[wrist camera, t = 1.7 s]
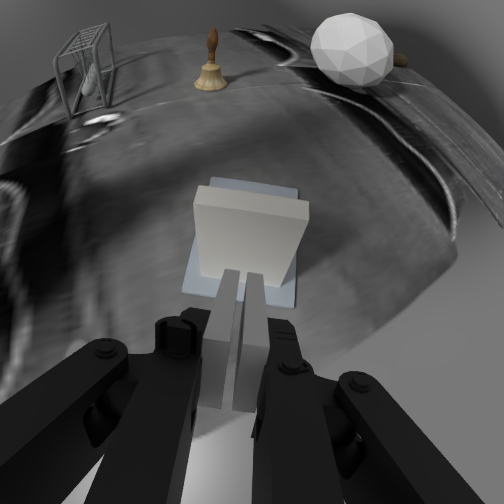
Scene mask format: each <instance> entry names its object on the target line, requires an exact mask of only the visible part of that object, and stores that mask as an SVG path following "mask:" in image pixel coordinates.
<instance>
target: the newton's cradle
mask: <svg viewBox="0 0 504 504" xmlns="http://www.w3.org/2000/svg"><path fill="white" fill-rule="evenodd" d="M103 25H104V27H103V28H102V30H101V32H100V34H99V35H98V37H97V39H95V42H93V45H91V46H90V44H92V40H93V41H94V37H95V38H96V34H98V31H99V29H100V28H101V26H103ZM99 26H100V27H99ZM99 26H95V27H99V28H98V30H97V32H96V33H95V35H94V36H93V38H92V39H91V41H90V42H89V45H88V46H86V47H85V48H83V46H82V45H83V44H82V40H81V37H82V32H83V31H85V30H89V29H92V28H95V27H92V28H89V29H85V30H82V31H76V32H75V33H74V34H73V36H72V37H71V38H70V39H69V40H68V41H67V42H66V44H65V45H64V46H63V47H62V48H61V50H60V51H59V52H58V54H57V55H56V56H55V58H54V60H53V67H54V71H55V75H56V79H57V83H58V86H59V90H60V93H61V97H62V100H63V103H64V107H65V110H66V113H67V116H68V118H70V119H71V118H73V117H74V115H77V114H80V113H83V112H87V111H90V110H93V109H97V108H100V107H104V108H108V106H109V101H110V95H111V89H112V83H113V78H114V72H115V61H114V54H113V46H112V38H111V29H110V23H109V22H106V24H102V25H99ZM106 29H107V35H108V43H109V51H110V58H111V64H112V69H111V70H107V71H103V72H101V69H102V66H101V64H100V63H99V57H98V51H97V47H98V44H99V42H100V40H101V38H102V36H103V34H104V32H105V30H106ZM80 32H81V33H80ZM76 36H77V38H76V39H75V40H74V42H75V41H76V40H77V39H78V44H79V46H78V47H79V50H75V51H73V52H70V53H67V52H68V50H69V49H70V48H71V46H72V45H74V42H73V43H72V44H71V46H70V47H69V48H68V50H67V51H66V52H65V53H64V55H62V53H63V52H64V51H65V49H66V48H67V47H68V46H69V44H70V43H71V42H72V40H73V39H74V38H75V37H76ZM82 39H83V38H82ZM83 40H84V39H83ZM76 42H77V41H76ZM84 42H85V41H84ZM76 44H77V43H76ZM78 44H77V45H78ZM90 47H93V49H92V51H93V54H92V58H91V55H90V53H88V54H89V55H90V62H89V55H88V58H87V59H88V67H86V66H87V65H86V62H85V57H84V51H83V50H84V49H87V48H90ZM74 49H75V47H74ZM70 51H71V49H70ZM77 51H80V54H81V60H82V63H81V65H82V67H83V70H84V78H83V81H82V83H81V86H80V88H79V91H78V94H77V96H76V99H75V102H74V105H73V107H72V110H71V111H70V107H69V104H68V101H67V97H66V94H65V90H64V86H63V82H62V79H61V75H60V71H59V67H58V59H59V58H60V57H63V56H66V55H68V54H71V53H74V52H76V53H77ZM88 52H89V51H88ZM66 53H67V54H66ZM85 54H86V53H85ZM72 55H73V54H72ZM77 56H78V54H77ZM86 57H87V56H86ZM73 58H74V56H73ZM91 59H92V65H91ZM93 59H94V64H93ZM74 60H75V59H74ZM79 60H80V59H79ZM75 62H76V61H75ZM80 62H81V61H80ZM76 64H77V63H76ZM89 64H90V70H89ZM77 67H78V65H77ZM87 68H88V73H87ZM78 69H79V67H78ZM79 71H80V69H79ZM108 71H111V75H110V79H109V84H108V89H107V94H105V90H104V85H103V80H102V74H101V73H104V72H108ZM80 73H81V72H80ZM81 75H82V74H81ZM82 77H83V76H82ZM97 81H98V85H99V89H100V94H101V98H102V103H103V105H102V106H98V107H95V108H92V109H88V110H85V111H82V112H78V113H75V111H76V108H77V105H78V102H79V99H80V96H81V93H82V94H83V95H84V96H91V95H92V94H93V93H94V92H95V87H96V85H97Z"/></svg>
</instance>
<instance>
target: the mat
mask: <svg viewBox="0 0 504 504" xmlns="http://www.w3.org/2000/svg"><path fill="white" fill-rule="evenodd" d="M209 186H210V187H218V188H226V189H233V190H241V191H248V192H254V193H261V194H268V195H274V196H280V197H286V198H292V199H298V189H294V188H288V187H282V186H276V185H269V184H263V183H256V182H249V181H242V180H235V179H228V178H220V177H212V176H211V180H210V183H209ZM296 252H297V250H296ZM296 252H295V255H294V257H293V259H292V261H291V264H290V266H289V268H288V270H287V273H286V275H285V277H284V279H283V281H282V284H281V286H280V287H273V286H266V285H264V289H265V299H266V305H267V306H275V307H283V308H291V309H294V300H295V278H296ZM220 282H221V279H217V278H211V277H204V276H201V271H200V262H199V254H198V245H197V236H196V234H195V238H194V242H193V246H192V250H191V254H190V258H189V262H188V266H187V270H186V274H185V279H184V283H183V287H182V293H186V294H192V295H198V296H204V297H211V298H216V295H217V291H218V288H219V285H220ZM245 287H246V283H244V282H239V284H238V291H237V298H236V301H238V302H243V300H244V293H245Z"/></svg>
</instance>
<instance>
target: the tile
mask: <svg viewBox="0 0 504 504" xmlns="http://www.w3.org/2000/svg"><path fill="white" fill-rule="evenodd" d="M193 207H194V217H195V227H196V236H197V245H198V254H199V262H200V271H201V276H204V277H211V278H217V279H222V276H223V273H224V270H225V269H231V270H238V271H240V277H239V282H244V283H246V280H247V273H248V272H251V273H258V274H263V278H264V285H266V286H273V287H280V286H281V284H282V281H283V279H284V277H285V275H286V273H287V270H288V268H289V266H290V264H291V261H292V259H293V257H294V255H295V252H296V250H297V248H298V245H299V243H300V241H301V238H302V236H303V234H304V232H305V229H306V227H307V224H308V222H309V201H304V200H298V199H292V198H286V197H280V196H274V195H268V194H261V193H254V192H248V191H241V190H233V189H226V188H218V187H210V186H201V185H199V186H198V190H197V193H196V196H195V199H194V203H193Z"/></svg>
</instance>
